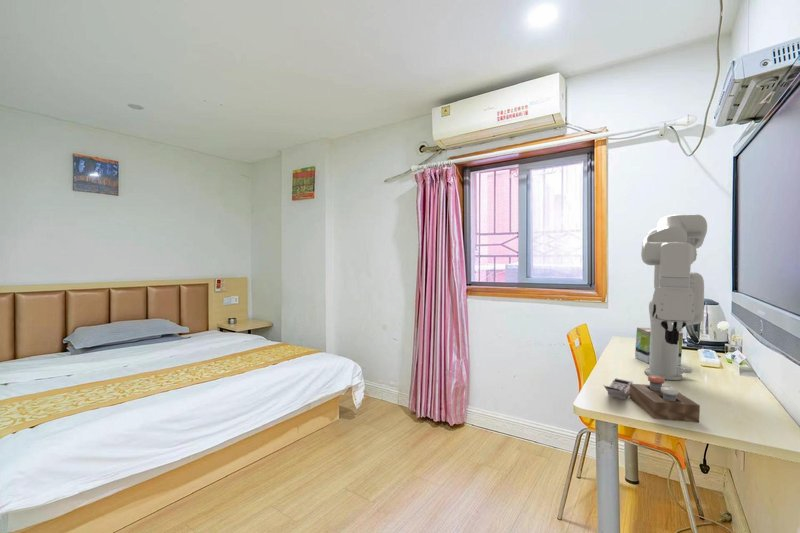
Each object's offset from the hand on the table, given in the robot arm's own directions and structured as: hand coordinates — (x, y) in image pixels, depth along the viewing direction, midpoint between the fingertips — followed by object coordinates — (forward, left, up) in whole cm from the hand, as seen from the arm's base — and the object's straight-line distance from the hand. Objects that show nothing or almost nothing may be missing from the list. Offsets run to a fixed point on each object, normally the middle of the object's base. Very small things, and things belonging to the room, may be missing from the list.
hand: (671, 343), depth 112 cm
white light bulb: (0, 0, -21) cm, 21 cm away
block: (0, -4, -22) cm, 22 cm away
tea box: (-27, -64, -22) cm, 73 cm away
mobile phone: (+8, -16, -23) cm, 28 cm away
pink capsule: (0, -8, -20) cm, 22 cm away
